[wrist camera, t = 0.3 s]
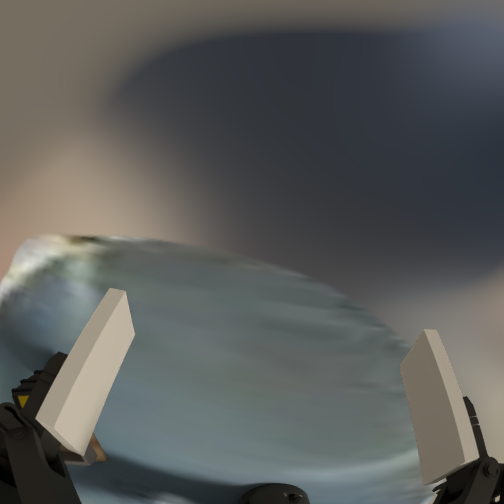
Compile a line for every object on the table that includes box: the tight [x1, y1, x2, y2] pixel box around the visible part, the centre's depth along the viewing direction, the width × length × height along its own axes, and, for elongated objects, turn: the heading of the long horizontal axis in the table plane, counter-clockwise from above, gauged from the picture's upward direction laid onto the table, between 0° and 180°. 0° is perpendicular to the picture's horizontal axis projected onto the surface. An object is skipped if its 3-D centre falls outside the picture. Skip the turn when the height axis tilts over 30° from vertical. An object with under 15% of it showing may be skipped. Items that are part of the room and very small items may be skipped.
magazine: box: [11, 369, 44, 411], centre depth 41 cm, size 4×13×15 cm, turn 97°
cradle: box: [61, 442, 98, 466], centre depth 43 cm, size 9×18×4 cm, turn 107°
